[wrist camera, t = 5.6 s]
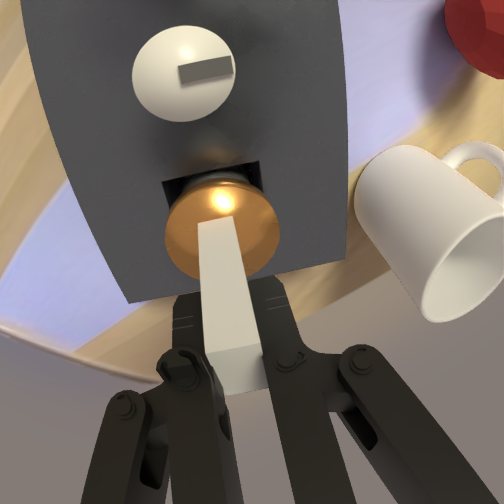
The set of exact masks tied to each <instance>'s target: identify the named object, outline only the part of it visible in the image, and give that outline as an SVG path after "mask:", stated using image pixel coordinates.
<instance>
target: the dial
mask: <svg viewBox="0 0 504 504" xmlns="http://www.w3.org/2000/svg"><path fill="white" fill-rule="evenodd" d="M234 80H235V62H234V58H233V55H232V53H231V51H230V49H229V47H228V46H227V44H226V43H225V42H224V41H223V40H222V39H221V38H220V37H219V36H217V35H216V34H215V33H213V32H211V31H209V30H207V29H204V28H201V27H196V26H177V27H173V28H169V29H166V30H164V31H162V32H160V33H158V34H157V35H155V36H154V37H152V38H151V39H150V40H149V41H148V42H147V43H146V44H145V45H144V46H143V47H142V49H141V50H140V51H139V53H138V55H137V57H136V59H135V62H134V66H133V71H132V83H133V88H134V91H135V94H136V96H137V98H138V99H139V101H140V102H141V104H142V105H143V106H144V107H145V108H146V109H147V110H148V111H149V112H151V113H152V114H154V115H155V116H157V117H160V118H162V119H165V120H169V121H175V122H187V121H193V120H196V119H200V118H202V117H205V116H207V115H208V114H210V113H212V112H213V111H215V110H216V109H217V108H218V107H219V106H220V105H221V104H222V103H223V102H224V101H225V100H226V98H227V97H228V95H229V94H230V92H231V89H232V87H233V84H234Z"/></svg>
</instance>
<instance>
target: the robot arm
mask: <svg viewBox="0 0 504 504" xmlns="http://www.w3.org/2000/svg"><path fill="white" fill-rule="evenodd" d="M198 243H199V266H200V286H201V291H199V292H194V293H189V294H184V295H179V296H178V298H177V300H176V302H175V304H174V306H173V324H172V328H173V330H172V349H170V350H168V351H167V352H166V353H164V354H163V355H162V356H161V358H160V359H159V361H158V363H157V367H156V371H157V372H158V373H159V375H160V376H161V377H162V379H163V380H164V382H163V383H162V384H161V385H159V386H157V387H156V388H153V389H151V390H149V391H147V392H144V393H142V394H139V393H138V392H135V391H132V390H123V391H121V392H119V393H117V394H115V396H113V397H112V398H111V400H110V401H109V403H108V405H107V408H106V411H105V415H104V418H103V421H102V424H101V428H100V431H99V434H98V438H97V441H96V445H95V448H94V452H93V455H92V459H91V463H90V467H89V471H88V474H87V479H86V482H85V487H84V491H83V495H82V500H81V504H165V499H166V493H167V488H168V482H169V477H171V490H172V500H173V504H244V501H243V496H242V491H241V484H240V480H239V473H238V468H237V461H236V455H235V449H234V443H233V437H232V430H231V424H230V417H229V411H228V409H227V406H226V404H225V398H224V393H225V395H226V396H229V395H235V394H240V393H246V392H250V391H256V390H261V389H266V388H269V391H270V395H271V400H272V404H273V409H274V413H275V418H276V422H277V427H278V431H279V435H280V440H281V444H282V448H283V453H284V457H285V462H286V466H287V470H288V474H289V479H290V483H291V487H292V492H293V495H294V500H295V504H357V503H356V500H355V496H354V493H353V490H352V487H351V483H350V480H349V477H348V473H347V470H346V467H345V463H344V460H343V457H342V454H341V451H340V447H339V444H338V441H337V438H336V435H335V431H334V428H333V425H332V422H331V419H330V416H329V413H328V412H336V413H337V415H338V416H339V418H340V419H341V420H342V422H343V424H344V425H345V427H346V428H347V430H348V431H349V433H350V434H351V436H352V437H353V439H354V440H355V442H356V443H357V444H358V446H359V448H360V449H361V450H362V452H363V453H364V455H365V456H366V458H367V459H368V461H369V462H370V464H371V465H372V466H373V468H374V470H375V471H376V473H377V474H378V475H379V477H380V478H381V480H382V481H383V483H384V484H385V486H386V487H387V489H388V490H389V491H390V493H391V494H392V495H393V497H394V499H395V500H396V502H397V503H398V504H499V503H498V502H497V500H496V499H495V497H494V496H493V495H492V493H491V492H490V491H489V489H488V488H487V487H486V485H485V484H484V483H483V481H482V480H481V479H480V477H479V476H478V475H477V473H476V472H475V471H474V469H473V468H472V467H471V466H470V464H469V463H468V461H467V460H466V459H465V458H464V456H463V455H462V454H461V452H460V451H459V450H458V448H457V447H456V446H455V444H454V443H453V442H452V441H451V440H450V438H449V437H448V435H447V434H446V433H445V432H444V430H443V429H442V428H441V426H440V425H439V424H438V423H437V421H436V420H435V419H434V418H433V416H432V415H431V414H430V413H429V412H428V410H427V409H426V408H425V406H424V405H423V404H422V403H421V401H420V400H419V399H418V398H417V396H416V395H415V394H414V393H413V392H412V390H411V389H410V388H409V387H408V385H407V384H406V383H405V382H404V381H403V379H402V378H401V377H400V376H399V374H398V373H397V372H396V371H395V370H394V368H393V367H392V366H391V365H390V364H389V362H388V361H387V360H386V359H385V358H384V356H383V355H382V354H381V353H380V352H379V351H378V350H376V349H375V348H374V347H371V346H369V345H366V344H365V345H364V344H363V345H361V344H360V345H359V344H358V345H354V346H351V347H349V348H348V349H346V350H345V351H344V352H343V353H342V354H324V353H318V352H315V351H313V350H311V349H310V348H308V347H307V346H306V345H305V344H304V343H303V341H302V339H301V337H300V334H299V331H298V328H297V325H296V322H295V319H294V316H293V313H292V310H291V307H290V304H289V301H288V298H287V296H286V292H285V289H284V286H283V283H282V282H280V281H279V280H278V279H277V278H276V277H275V276H274V275H271V276H267V277H262V278H258V279H253V280H248V281H247V280H246V275H245V271H244V266H243V262H242V257H241V253H240V248H239V243H238V239H237V234H236V229H235V225H234V220H233V216H229V217H224V218H220V219H215V220H210V221H206V222H201V223H198Z"/></svg>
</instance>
